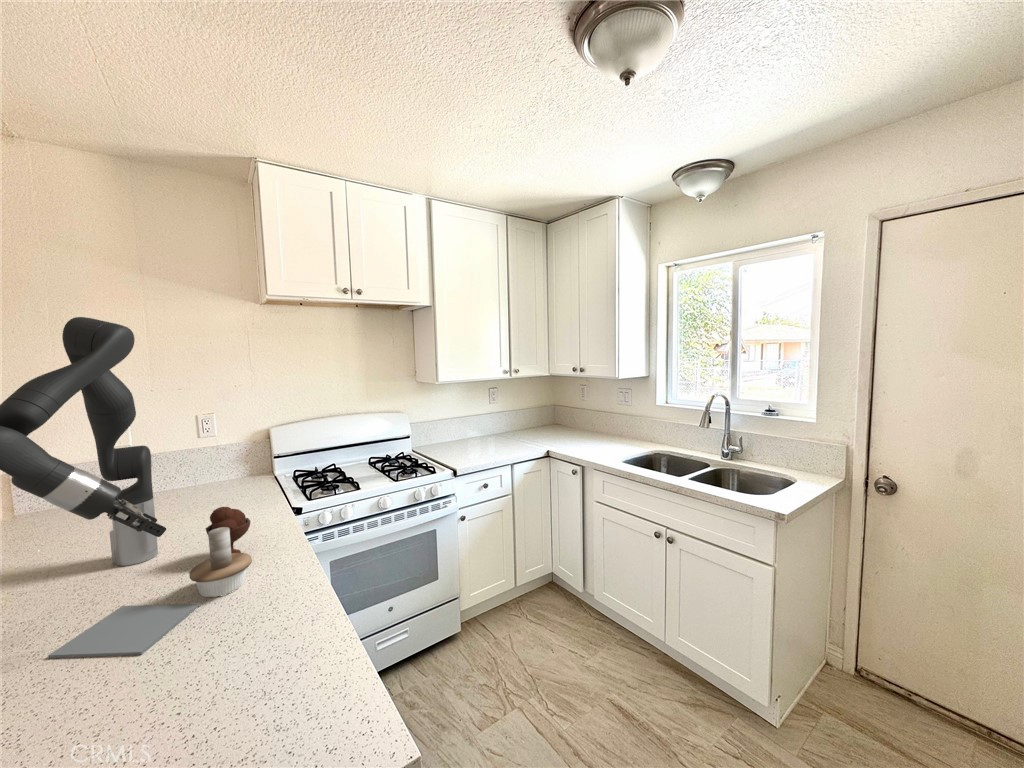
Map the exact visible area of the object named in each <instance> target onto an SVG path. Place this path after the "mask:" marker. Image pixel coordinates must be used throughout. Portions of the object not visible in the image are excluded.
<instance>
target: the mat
mask: <svg viewBox="0 0 1024 768" xmlns="http://www.w3.org/2000/svg"><path fill="white" fill-rule="evenodd" d="M199 605H200V606H201V603H200V602H199V603H176V604H175V603H173V604H169V603H168V604H143V605H138V604H137V605H121V606H120V607H118V608H117V609H116V610H114V611H112V612H111V613H110V614H108V615H107V616H105V617H103V618H102V619H100V620H99V621H98V622H96V623H95V624H93V625H92V626H90V627H88V628H87V629H85V630H84V631H83V632H81V633H80V634H78V635H76V636H75V637H73V638H72V639H71V640H69V641H68V642H66V643H64V644H63V645H62V646H60V647H59V648H57V649H56V650H54V651H52V652H50V653H49V654H48V656H47V657H48V659H60V658H61V659H62V658H63V659H64V658H65V659H67V658H88V657H117V656H118V657H119V656H142V655H143V654H144V653H146V652H147V651H148V650H150V648H152V647H153V646H154V645H155V644H156V643H158V642H160V640H161V639H163V638H164V637H165V636H166V635H168V633H170V632H171V631H172V630H173V629H174V628H176V626H178V625H179V624H181V622H183V621H184V620H185V619H187V618H188V617H189V616H190V615H191V614H193V613H194V612H195V611H196V610H197V609H198V608H199V607H200V606H199ZM198 606H199V607H198ZM197 607H198V608H197ZM196 608H197V609H196ZM195 609H196V610H195ZM194 610H195V611H194ZM190 613H191V614H190ZM189 614H190V615H189ZM188 615H189V616H188ZM182 620H183V621H182ZM169 631H170V632H169ZM163 636H164V637H163Z"/></svg>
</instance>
